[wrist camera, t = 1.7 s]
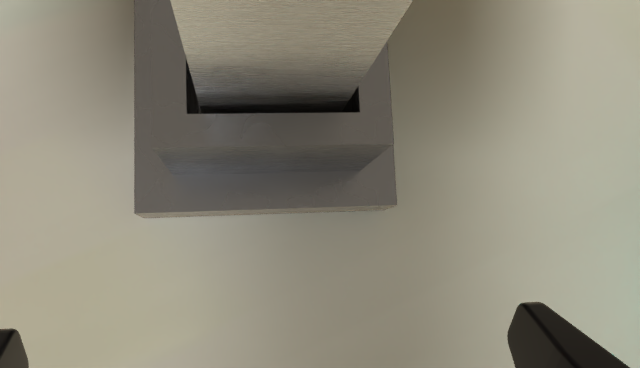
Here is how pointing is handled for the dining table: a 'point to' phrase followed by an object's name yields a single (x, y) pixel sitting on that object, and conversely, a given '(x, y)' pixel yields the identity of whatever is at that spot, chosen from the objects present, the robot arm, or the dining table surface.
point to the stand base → (251, 142)
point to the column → (282, 51)
